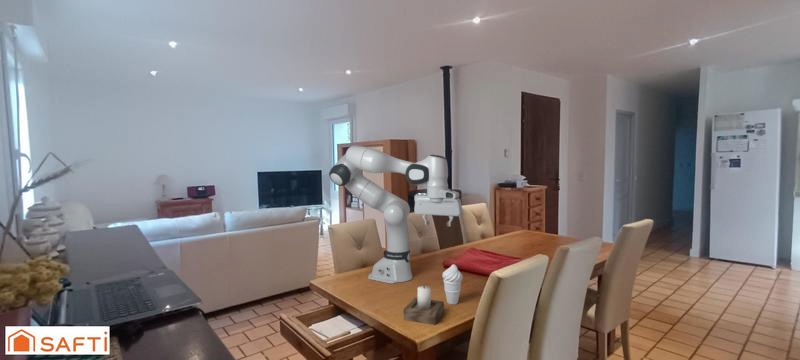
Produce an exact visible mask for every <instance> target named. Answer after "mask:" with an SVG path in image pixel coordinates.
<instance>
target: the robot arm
mask: <svg viewBox="0 0 800 360" xmlns="http://www.w3.org/2000/svg"><path fill="white" fill-rule="evenodd" d="M363 172H367V173H373V174H384V173H386V174H387V173H397V174H398V173H399V174H402V175H405V178H406V180H407V182H408V183H409V184H411V185H413V186H423V185H426V192H417V193H416V194H415V195H414V197H413V198H414V214H415V215H422V219H423V221H424V226H429V225H430V220H428V218H427V217H428V216H447V217H448V218H449V220H448V221H446V227H451V226H452V222H453V219H454V217H460V216H461V215H462V213H463V206H462V205H463V204H462V201H461V199H460V198H459V197H460V192H458V191H455V190H453V189H451V188H449V184H448V177H449V167H448V161H447V158H446V157H445V156H443V155H439V154H429V155H428V156H427V157H426V158H424V159H422V160H420V161H416V162H413V161H409V160H406V159H405V160H404V159H400V158H397V157H395V156H392V155H390V154H388V153H385V152H383V151H380V150H378V149H376V148H373V147H368V146H362V145H352V146H350V147H348V148H347V150H346V152H345V154H344V155H342V156H341V157H340V158H339V160H338V161H336V163H335V164H334V165H333V166H332V167H331V169H330V171H329V173H328V175H329V179H330V181H331V182H332V183H333V184H335V186H340V187H343V186H344V187H345V189H346V190H347V191H348V192H349V193H351V194H352V195H353V196H354V197H355V198H357V199H358V200H360V201H361V202H363V203H364V204H365V205H367V206H369V207H370V208H372V209H374V210H377V211H379V212H380V213H383V219H384V225H385V232H386V233H385V234H386V249H384V250H383V251H382V255H383V257H381V259H378V261H377V262H376V263H374V265H373V267H372V271H371V272H370V273H369V274H368V275H367V279H368V280H372V281H377V282H383V283H385V284H387V283H388V284H392V285H393V284H397V283H403V282H409V281H410V280H413V278H414V277H413V273H412V269H411V263H410V262H411V249H410V234H409V228H408V227H409V226H408V216H409V215H410V213H411V212H410V211H411V208H410V205H409V202H407V201H406V200H404V199H402V198H400V197H399V196H397V195H396V194H394V193H391V192H389V191H388V190H386V189H384V188H383V187H381V186H380V185H378V184H377V183H375V182H374V181H372V180H370V179H369V178H368V177H366V176H364V175H363Z"/></svg>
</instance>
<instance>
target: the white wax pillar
mask: <svg viewBox="0 0 800 360" xmlns="http://www.w3.org/2000/svg"><path fill="white" fill-rule="evenodd" d="M431 290H432V288H431V286H428V285H421V286H418V287H417V293H416V294H417V297H416V298H417V308H418V309H422V310H429V309H431V300H432V291H431Z"/></svg>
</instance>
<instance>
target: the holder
mask: <svg viewBox="0 0 800 360" xmlns="http://www.w3.org/2000/svg"><path fill="white" fill-rule="evenodd" d="M444 303H445V302H444V301H442V300H435V299H431V309H429V310H422V309H418V308H417V297H413V299H412V300H411V301H410V302H409V303H408V304H407V305H406V306H405V307H404V308H403V320H404V321H409V322H415V323H421V324H428V325H436V324H437V322H438V321H439V320H440V318H441V316H442V315H443V313H445V312H444V311H445V307H444V306H445V305H444Z"/></svg>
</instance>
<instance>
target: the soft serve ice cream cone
mask: <svg viewBox="0 0 800 360" xmlns="http://www.w3.org/2000/svg"><path fill="white" fill-rule="evenodd" d="M441 277H442V280H443V284H444V285H443V287H444V288H443V290H444V292H445V293H444V294H445V298H446V302H447V304H449V305H457V304H458V302H459V298H460V293H461V285H462V281H463V279H464V278H463V274H462V273H461V272H460V270H459V269H458V266H457V265H456V264H454V263H453V264H451V266H449V267H448V268H447V269H446V270H444V271H443V272H442V275H441Z"/></svg>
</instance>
